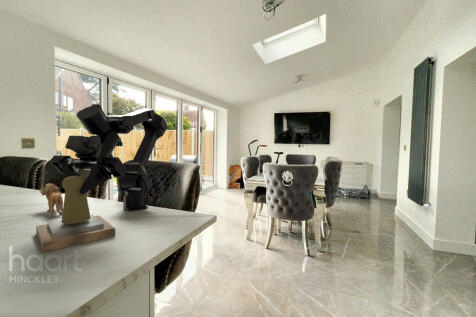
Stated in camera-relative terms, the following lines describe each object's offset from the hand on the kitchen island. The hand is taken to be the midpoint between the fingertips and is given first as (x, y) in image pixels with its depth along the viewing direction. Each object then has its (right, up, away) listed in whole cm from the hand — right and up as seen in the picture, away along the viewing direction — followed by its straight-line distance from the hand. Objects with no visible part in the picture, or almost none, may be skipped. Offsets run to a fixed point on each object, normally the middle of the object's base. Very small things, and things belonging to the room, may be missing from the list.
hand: (70, 192), depth 58 cm
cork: (0, -7, +2) cm, 7 cm away
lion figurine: (-20, -10, +20) cm, 30 cm away
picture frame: (0, -11, +2) cm, 11 cm away
